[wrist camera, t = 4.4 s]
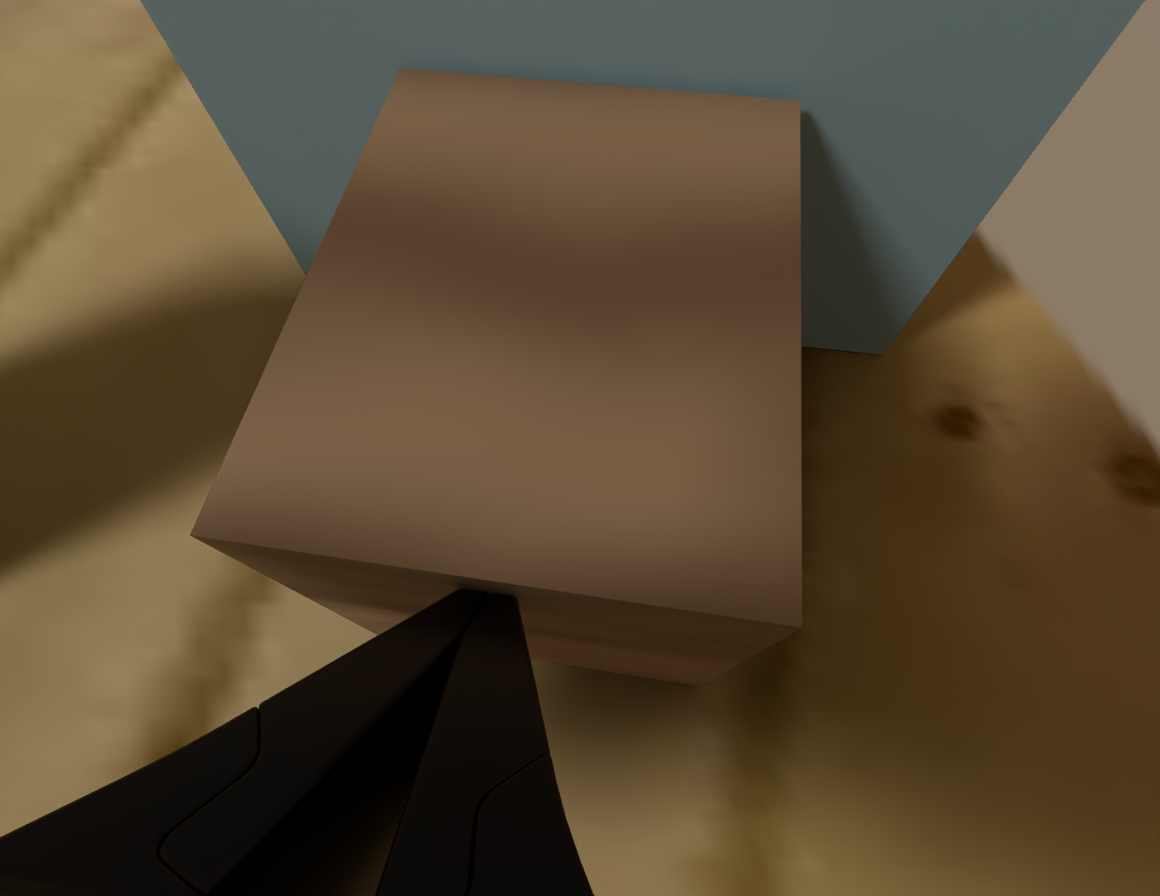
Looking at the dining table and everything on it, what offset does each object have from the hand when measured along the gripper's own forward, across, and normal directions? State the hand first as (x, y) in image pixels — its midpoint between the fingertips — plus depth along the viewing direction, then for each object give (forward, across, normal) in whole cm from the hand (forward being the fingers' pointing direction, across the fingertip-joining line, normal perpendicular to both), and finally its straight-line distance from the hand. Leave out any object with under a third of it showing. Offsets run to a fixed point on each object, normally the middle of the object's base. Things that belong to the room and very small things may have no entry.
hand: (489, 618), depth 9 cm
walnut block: (+8, 0, +1) cm, 9 cm away
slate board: (+13, 0, -4) cm, 14 cm away
